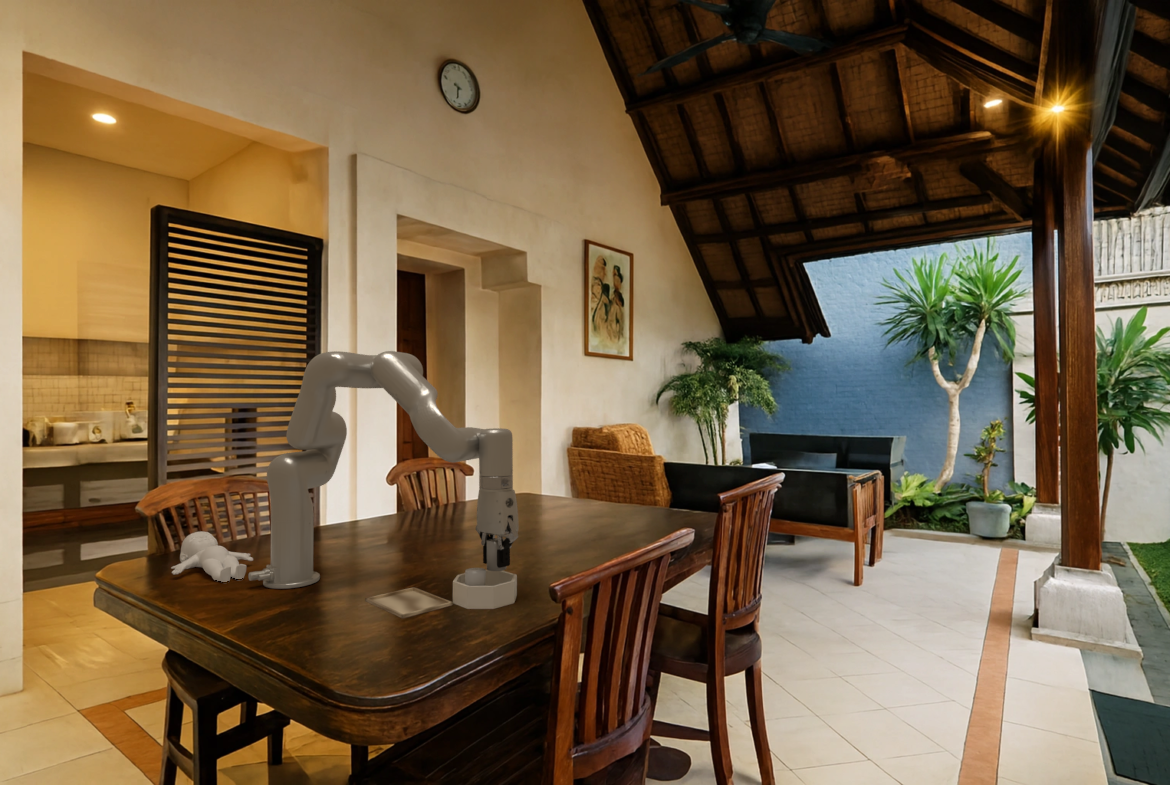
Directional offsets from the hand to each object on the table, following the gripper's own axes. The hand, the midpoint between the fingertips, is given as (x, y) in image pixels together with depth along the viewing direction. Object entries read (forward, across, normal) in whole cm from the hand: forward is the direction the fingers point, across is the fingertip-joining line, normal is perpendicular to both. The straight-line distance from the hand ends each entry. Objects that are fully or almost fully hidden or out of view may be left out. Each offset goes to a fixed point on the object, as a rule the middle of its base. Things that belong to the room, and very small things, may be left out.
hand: (496, 563), depth 144 cm
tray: (+8, +10, +16) cm, 20 cm away
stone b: (+1, 0, 0) cm, 1 cm away
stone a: (+7, 0, +6) cm, 9 cm away
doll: (+7, +71, +38) cm, 81 cm away
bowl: (+8, 0, +3) cm, 8 cm away
